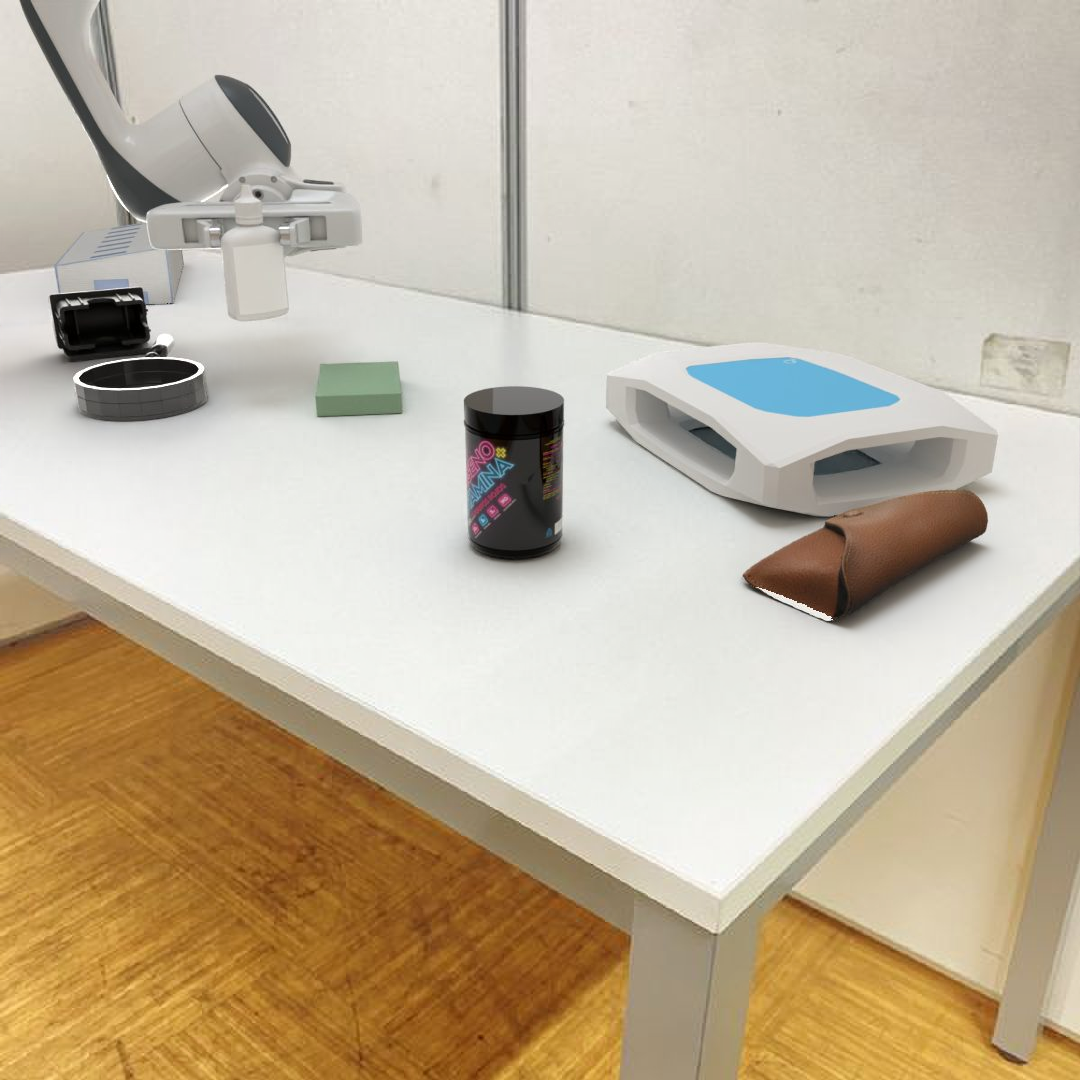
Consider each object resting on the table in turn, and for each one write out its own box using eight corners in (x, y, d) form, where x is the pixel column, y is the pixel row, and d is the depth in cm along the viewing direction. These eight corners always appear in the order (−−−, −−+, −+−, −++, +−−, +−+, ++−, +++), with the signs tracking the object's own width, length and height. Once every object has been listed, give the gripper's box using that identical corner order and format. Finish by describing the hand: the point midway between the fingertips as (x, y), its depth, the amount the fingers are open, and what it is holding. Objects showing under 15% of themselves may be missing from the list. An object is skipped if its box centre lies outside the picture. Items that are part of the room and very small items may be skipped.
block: (317, 416, 107) (315, 396, 106) (321, 382, 117) (320, 363, 117) (402, 413, 108) (401, 393, 107) (399, 379, 118) (398, 361, 118)
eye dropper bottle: (289, 320, 106) (277, 187, 101) (227, 323, 105) (212, 188, 100) (289, 310, 110) (277, 181, 105) (229, 312, 109) (215, 183, 104)
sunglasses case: (877, 505, 84) (930, 443, 80) (946, 573, 82) (1005, 513, 77) (732, 578, 73) (785, 510, 68) (807, 660, 70) (867, 595, 66)
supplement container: (474, 522, 83) (471, 384, 79) (566, 526, 82) (568, 387, 78) (460, 560, 77) (455, 413, 72) (559, 565, 76) (560, 416, 72)
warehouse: (88, 269, 177) (80, 219, 174) (184, 265, 180) (178, 216, 177) (61, 308, 150) (51, 250, 147) (173, 303, 154) (166, 246, 150)
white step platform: (766, 529, 82) (773, 447, 79) (601, 421, 105) (603, 355, 103) (995, 490, 89) (1008, 413, 86) (792, 397, 113) (798, 335, 110)
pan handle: (143, 371, 116) (141, 354, 115) (159, 348, 124) (157, 332, 124) (161, 371, 116) (159, 354, 115) (176, 348, 125) (174, 332, 124)
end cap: (146, 339, 135) (137, 282, 132) (156, 352, 129) (148, 293, 126) (56, 348, 130) (46, 290, 128) (63, 362, 125) (52, 301, 122)
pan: (65, 423, 104) (59, 392, 103) (93, 388, 115) (89, 359, 114) (198, 418, 106) (194, 387, 105) (214, 383, 117) (211, 355, 116)
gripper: (154, 185, 113) (128, 203, 101) (360, 182, 116) (359, 199, 104) (162, 249, 116) (138, 274, 103) (363, 245, 119) (363, 269, 106)
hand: (250, 237), depth 103 cm, fingers closed on eye dropper bottle, 5 cm apart
